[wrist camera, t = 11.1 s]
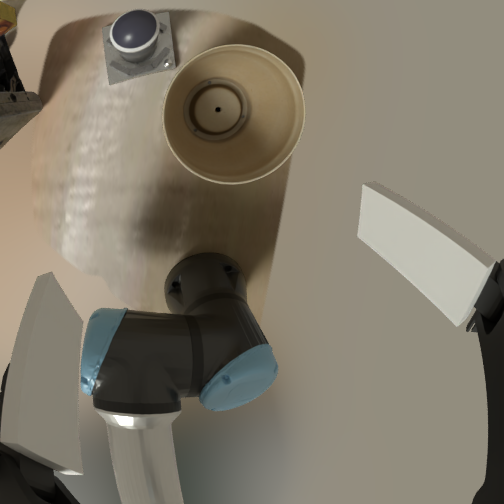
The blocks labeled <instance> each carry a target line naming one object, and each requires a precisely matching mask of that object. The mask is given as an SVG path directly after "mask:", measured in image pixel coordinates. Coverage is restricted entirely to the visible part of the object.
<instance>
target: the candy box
mask: <svg viewBox="0 0 504 504" xmlns="http://www.w3.org/2000/svg"><path fill="white" fill-rule="evenodd" d="M16 25H17V21H16V15H15V8H13V7H11V6H9V5H7V4H5V3H3V2H1V1H0V36H2V35H3V34H5V33H7V32H8V31H9V30H11V29H12V28H13V27H15V26H16Z"/></svg>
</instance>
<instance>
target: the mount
mask: <svg viewBox="0 0 504 504" xmlns="http://www.w3.org/2000/svg"><path fill="white" fill-rule="evenodd" d="M155 15H156V16H157V18H158V20H159V24H160V27H159V34H158V41H157V47H156V50H155V52H154V54H153V55H152V56H151V57H150V58H148V59H147V60H145V61H143V62H140V63H130V62H127V61H126V60H124V59H123V58H122V57H121V55H120V54H119V52H118V51H117V49H116V48H115V47H114V45H113V44H112V42H111V40H110V30H111V27H112V25H110V26H106V27H103V28H102V33H103V43H104V52H105V59H106V67H107V73H108V80H109V85H113V84H117V83H120V82H123V81H127V80H130V79H134V78H137V77H141V76H145V75H149V74H153V73H157V72H162V71H166V70H171V69H175V68H176V66H175V58H174V51H173V43H172V35H171V26H170V17H169V12H163V13H158V14H155Z"/></svg>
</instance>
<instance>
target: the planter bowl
mask: <svg viewBox="0 0 504 504" xmlns="http://www.w3.org/2000/svg"><path fill="white" fill-rule="evenodd" d="M217 107H219V108H220V110H221V111H220V112H216V111H215V109H216V108H217ZM305 118H306V107H305V99H304V95H303V91H302V88H301V86H300V83H299V81H298V79H297V78H296V76H295V74H294V73H293V71H292V70H291V69H290V68H289V67H288V66H287V65H286V64H285V63H284V62H283V61H282V60H281V59H279V58H278V57H277V56H275V55H274V54H272V53H270V52H268V51H266V50H264V49H261V48H258V47H255V46H250V45H243V44H229V45H222V46H218V47H214V48H211V49H208V50H206V51H204V52H202V53H200V54H198V55H197V56H195V57H194V58H192V59H191V60H190V61H188V62H187V63H186V64H185V65H184V66H183V67H182V68H181V69H180V70H179V71H178V73H177V74H176V75H175V77H174V78H173V80H172V81H171V83H170V85H169V87H168V89H167V92H166V95H165V98H164V102H163V109H162V125H163V131H164V135H165V138H166V140H167V143H168V145H169V147H170V149H171V151H172V152H173V154H174V156H175V157H176V158H177V159H178V161H179V162H180V163H181V164H182V165H183V166H184V167H185V168H186V169H188V170H189V171H190V172H192V173H193V174H195V175H197V176H199V177H201V178H203V179H205V180H208V181H211V182H215V183H220V184H243V183H248V182H252V181H255V180H258V179H260V178H263V177H265V176H267V175H269V174H270V173H272V172H273V171H275V170H276V169H278V168H279V167H280V166H281V165H282V164H283V163H284V162H285V161H286V160H287V159H288V158H289V157H290V155H291V154H292V153H293V151H294V150H295V148H296V146H297V144H298V143H299V141H300V138H301V136H302V133H303V129H304V125H305Z"/></svg>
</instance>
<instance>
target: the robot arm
mask: <svg viewBox="0 0 504 504" xmlns="http://www.w3.org/2000/svg"><path fill="white" fill-rule="evenodd" d="M357 237H358V238H360V239H361V240H362V241H363V242H365V243H366V244H367V245H368V246H369V247H371V248H372V249H373V250H374V251H375V252H377V253H378V254H379V255H380V256H381V257H382V258H384V259H385V260H386V261H387V262H388V263H390V264H391V265H392V266H393V267H394V268H395V269H397V271H399V272H400V273H401V274H402V275H403V276H405V278H406V279H408V280H409V281H410V282H411V283H412V284H413V285H414V286H415V287H417V289H419V290H420V291H421V292H422V293H423V294H424V295H425V296H426V297H427V298H428V299H429V300H430V301H431V302H432V303H433V304H434V305H435V306H437V307H438V308H439V309H440V310H441V311H442V312H443V313H444V314H445V315H446V316H447V317H448V318H449V319H450V320H451V321H452V322H453V323H454V324H455V325H456V326H457V327H458V326H459V325H460V324H461V323H462V322H463V321H464V320H465V319H466V318H467V317H468V315H469V314H470V312H471V310H472V308H473V307H475V308H476V311H475V313H474V315H473V316H472V318H471V320H470V321H469V323H468V325H467V327H466V331H467V332H468V331H469V330H470V329H471V327H472V326H473V324H474V323H475V325H474V327H473V328H472V331H471V332H478V337H479V342H480V347H481V352H482V358H483V365H484V373H485V381H486V391H487V402H488V403H487V404H488V455H487V468H486V477H485V482H484V484H483V486H482V487H481V488H480V489H479V491H478V492H477V493H476V495H475V497H474V499H473V502H472V504H504V259H503V260H501V262H500V263H498V262H497V261H496V260H495V259H493V258H492V257H491V256H490V255H488V254H487V253H486V252H485V251H483V250H482V249H481V248H479V247H478V246H477V245H475V244H474V243H473V242H471V241H470V240H469V239H467V238H466V237H464V236H463V235H462V234H460V233H459V232H457V231H456V230H454V229H453V228H451V227H450V226H449V225H447V224H446V223H444V222H443V221H441V220H440V219H438V218H436V217H435V216H433V215H432V214H430V213H429V212H427V211H425V210H424V209H422V208H420V207H419V206H417V205H416V204H414V203H412V202H411V201H409V200H407V199H406V198H404V197H402V196H400V195H399V194H397V193H395V192H393V191H391V190H390V189H388V188H386V187H384V186H382V185H380V184H378V183H376V182H370V183H365V184H363V186H362V198H361V209H360V218H359V227H358V235H357ZM164 292H165V298H166V303H167V306H168V308H169V310H170V311H171V313H172V314H167V313H156V312H145V311H135V310H128V308H124V309H110V308H100V309H98V310H96V311H94V313H93V314H92V315H91V317H90V319H89V322H88V326H87V329H86V333H85V338H84V344H83V351H82V359H81V389H82V391H83V392H84V393H86V394H87V395H90V396H91V395H93V405H94V409H95V410H96V411H97V412H98V413H99V414H100V415H101V416H102V417H103V418H104V419H105V421H106V422H107V430H108V438H109V445H110V451H111V457H112V463H113V468H114V473H115V478H116V482H117V487H118V490H119V495H120V498H121V502H122V504H184V503H183V498H182V493H181V487H180V482H179V477H178V470H177V464H176V458H175V451H174V444H173V436H172V428H171V423H172V422H173V420H174V419H175V418H176V417H177V416H178V415H179V414H180V413H181V401H180V399H181V398H182V397H199V400H200V403H202V405H203V406H204V407H205V408H206V409H211V410H213V411H223V410H228V409H232V408H235V407H238V406H241V405H243V404H246V403H248V402H250V401H251V400H253V399H254V398H256V397H258V396H260V395H261V394H262V393H263V392H265V391H266V390H267V389H268V388H269V387H270V386H271V385H272V383H273V382H274V380H275V379H276V376H277V374H278V365H277V362H276V359H275V357H274V355H273V353H272V347H271V346H270V345H269V343H268V342H267V340H266V338H265V336H264V335H263V332H262V330H261V329H260V327H259V325H258V323H257V321H256V319H255V317H254V316H253V314H252V312H251V310H250V308H249V306H248V304H247V291H246V280H245V277H244V275H243V273H242V271H241V269H240V267H239V266H238V265H237V263H236V262H235V261H233V260H232V259H231V258H229V257H227V256H225V255H221V254H217V253H202V254H197V255H194V256H191V257H189V258H187V259H185V260H183V261H181V262H180V263H179V264H177V265H176V266H175V267H174V268H173V269H172V271H171V272H170V273H169V275H168V277H167V279H166V282H165V287H164ZM82 328H83V321H82V319H81V317H80V316H79V315H78V313H77V312H76V310H75V309H74V307H73V306H72V304H71V303H70V301H69V299H68V298H67V296H66V295H65V293H64V291H63V290H62V288H61V287H60V285H59V283H58V282H57V280H56V278H55V277H54V275H53V273H52V272H49V273H46V274H43V275H41V276H38V277H37V279H36V281H35V284H34V287H33V289H32V292H31V294H30V297H29V300H28V303H27V306H26V308H25V312H24V314H23V318H22V321H21V324H20V327H19V331H18V334H17V337H16V341H15V345H14V349H13V353H12V357H11V361H10V363H9V364H8V367H7V369H6V371H5V373H4V375H3V380H2V385H1V391H2V392H0V504H80V503H79V502H78V501H77V500H76V499H75V498H74V496H73V495H72V494H71V493H70V491H69V490H68V489H67V488H66V487H65V485H64V484H63V483H62V482H61V481H60V480H59V479H58V478H57V477H56V476H54V472H53V469H54V470H56V471H58V472H61V473H63V474H69V475H83V467H82V458H81V449H80V437H79V418H78V381H79V361H80V348H81V337H82Z"/></svg>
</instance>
